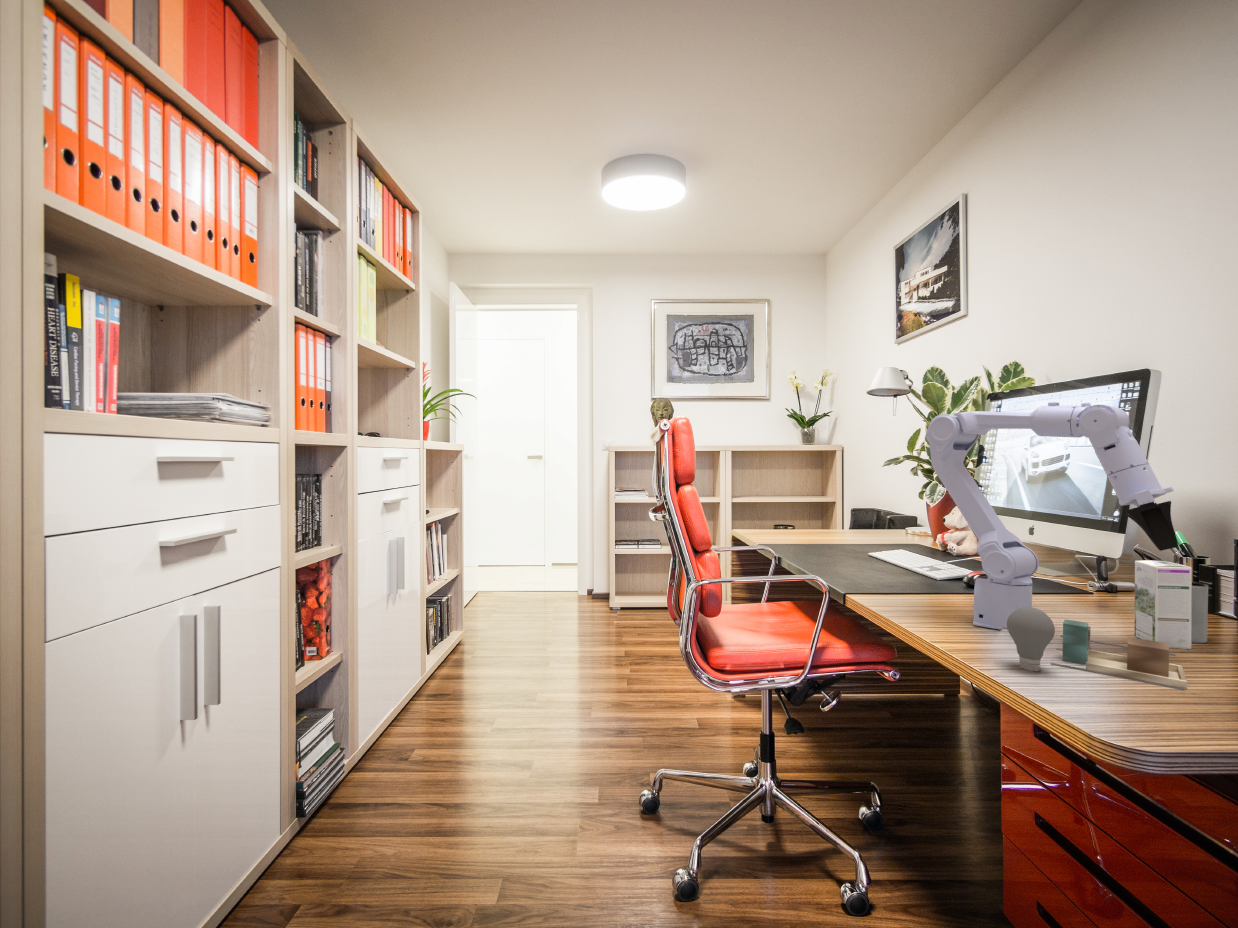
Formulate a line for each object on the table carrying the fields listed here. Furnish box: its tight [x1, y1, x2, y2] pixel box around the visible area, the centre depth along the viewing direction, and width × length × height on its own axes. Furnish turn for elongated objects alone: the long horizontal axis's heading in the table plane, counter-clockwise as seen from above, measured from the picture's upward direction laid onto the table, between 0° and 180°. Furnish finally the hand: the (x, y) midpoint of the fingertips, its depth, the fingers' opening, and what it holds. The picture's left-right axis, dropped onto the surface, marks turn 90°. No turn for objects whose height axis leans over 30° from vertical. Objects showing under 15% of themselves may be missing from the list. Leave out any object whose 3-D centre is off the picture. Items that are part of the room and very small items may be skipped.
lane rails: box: [1050, 634, 1186, 691], centre depth 93 cm, size 15×20×1 cm
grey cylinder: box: [1191, 581, 1209, 644], centre depth 107 cm, size 4×4×10 cm
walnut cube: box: [1126, 636, 1170, 677], centre depth 87 cm, size 4×4×4 cm
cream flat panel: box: [1088, 625, 1091, 650], centre depth 96 cm, size 14×8×4 cm, turn 49°
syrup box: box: [1133, 559, 1193, 650], centre depth 104 cm, size 6×6×14 cm
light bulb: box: [1006, 606, 1056, 672], centre depth 89 cm, size 6×6×10 cm
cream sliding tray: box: [1061, 619, 1188, 690], centre depth 89 cm, size 14×8×6 cm, turn 49°
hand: (1168, 549), depth 93 cm, fingers open, 7 cm apart
